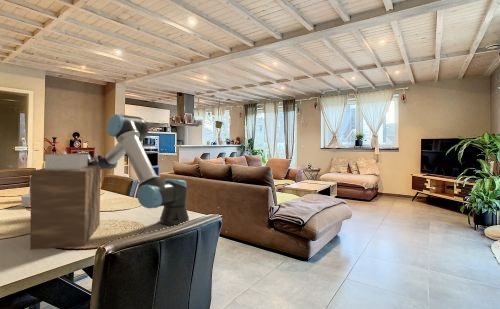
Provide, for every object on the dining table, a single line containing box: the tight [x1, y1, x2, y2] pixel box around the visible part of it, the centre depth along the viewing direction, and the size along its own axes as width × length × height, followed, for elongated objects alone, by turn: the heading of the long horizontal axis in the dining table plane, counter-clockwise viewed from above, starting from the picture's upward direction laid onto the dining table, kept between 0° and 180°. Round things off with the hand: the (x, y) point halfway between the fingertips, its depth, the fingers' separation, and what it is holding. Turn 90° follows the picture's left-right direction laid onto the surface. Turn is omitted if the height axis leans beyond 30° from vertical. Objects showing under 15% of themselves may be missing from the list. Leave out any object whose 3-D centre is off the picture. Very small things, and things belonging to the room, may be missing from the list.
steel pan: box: [44, 152, 89, 170], centre depth 123 cm, size 32×12×6 cm, turn 18°
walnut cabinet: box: [29, 166, 102, 251], centre depth 118 cm, size 28×18×30 cm, turn 18°
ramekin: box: [20, 193, 31, 208], centre depth 169 cm, size 13×13×7 cm
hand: (79, 153), depth 131 cm, fingers open, 13 cm apart
